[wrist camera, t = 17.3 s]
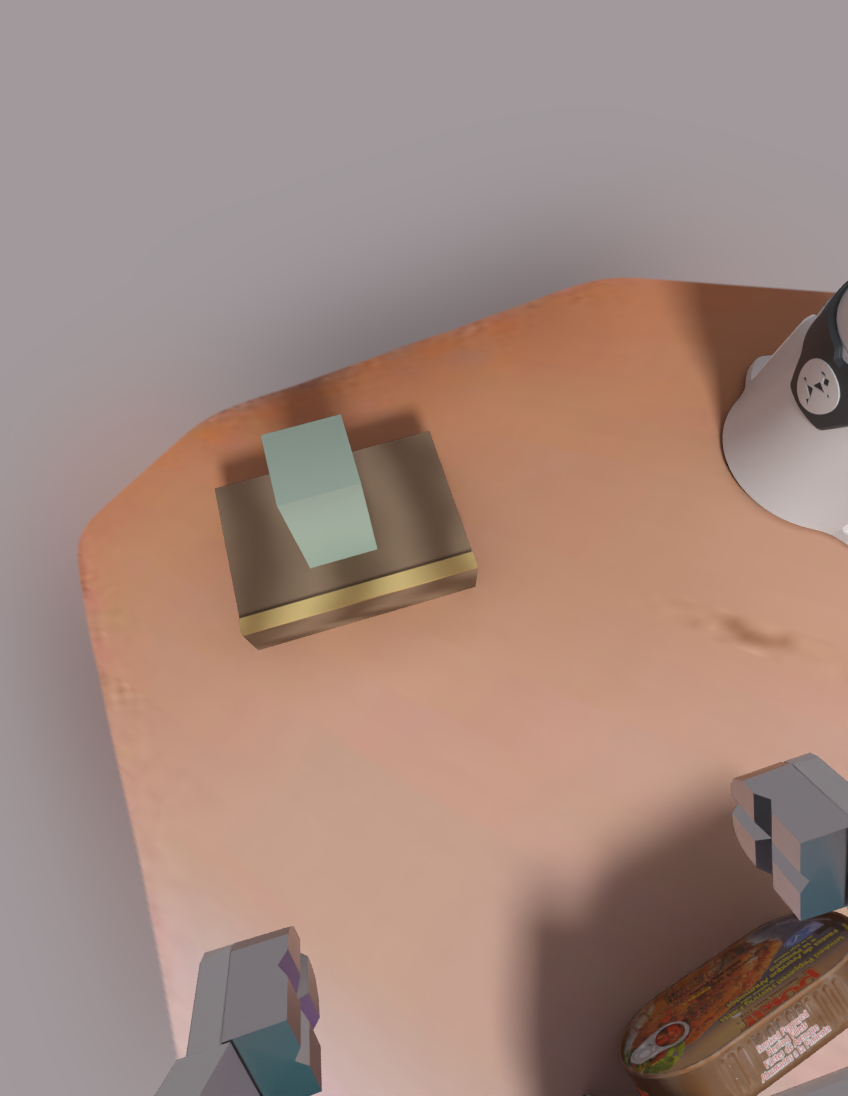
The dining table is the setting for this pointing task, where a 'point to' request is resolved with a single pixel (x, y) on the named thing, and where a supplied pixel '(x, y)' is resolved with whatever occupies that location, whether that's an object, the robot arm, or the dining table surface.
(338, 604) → the block
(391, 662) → the dining table surface
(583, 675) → the dining table surface
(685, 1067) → the tin
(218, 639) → the dining table surface
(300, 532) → the block
